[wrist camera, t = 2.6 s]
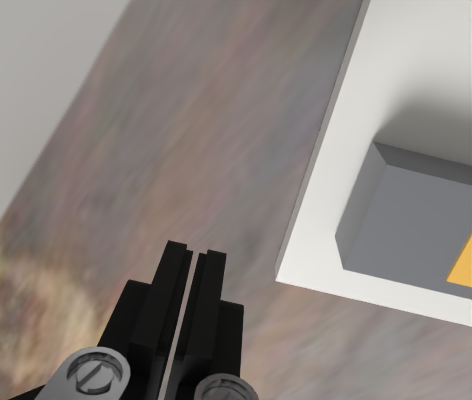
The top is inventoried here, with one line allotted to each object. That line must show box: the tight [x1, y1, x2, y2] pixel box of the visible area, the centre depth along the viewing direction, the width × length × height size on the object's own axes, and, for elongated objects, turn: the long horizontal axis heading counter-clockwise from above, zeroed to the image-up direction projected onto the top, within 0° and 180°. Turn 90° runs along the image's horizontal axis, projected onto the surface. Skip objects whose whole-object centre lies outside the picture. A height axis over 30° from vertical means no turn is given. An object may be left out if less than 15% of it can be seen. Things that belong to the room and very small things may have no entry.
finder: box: [335, 141, 472, 300], centre depth 19 cm, size 5×8×3 cm, turn 77°
